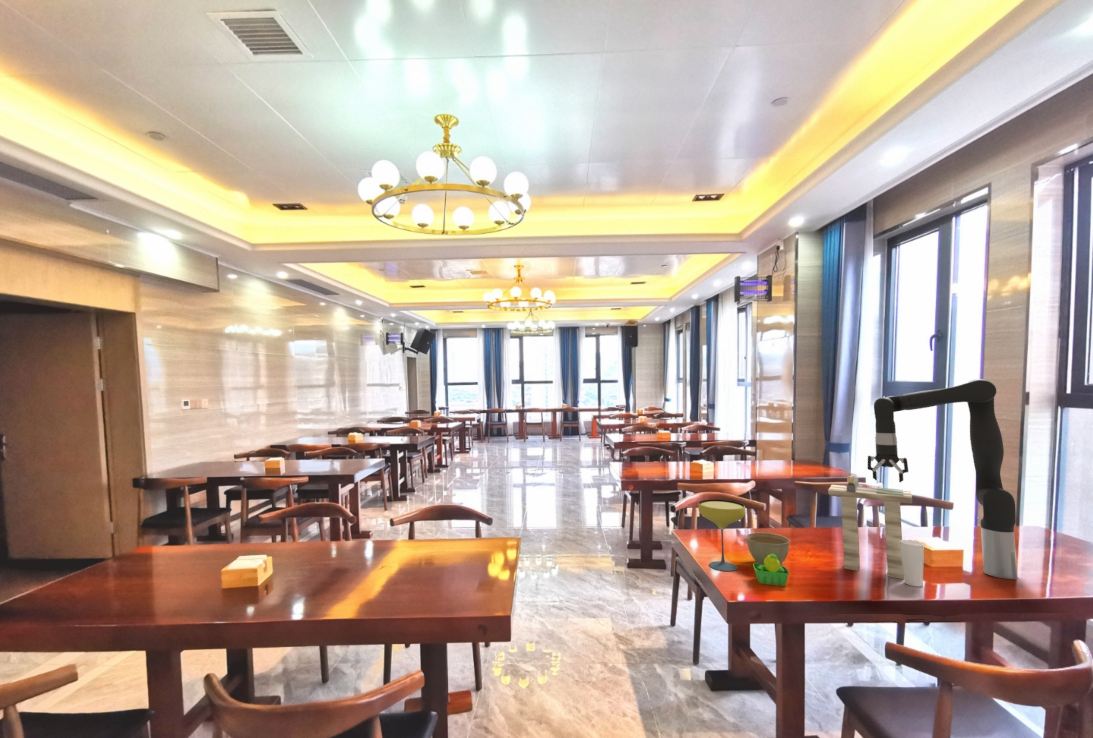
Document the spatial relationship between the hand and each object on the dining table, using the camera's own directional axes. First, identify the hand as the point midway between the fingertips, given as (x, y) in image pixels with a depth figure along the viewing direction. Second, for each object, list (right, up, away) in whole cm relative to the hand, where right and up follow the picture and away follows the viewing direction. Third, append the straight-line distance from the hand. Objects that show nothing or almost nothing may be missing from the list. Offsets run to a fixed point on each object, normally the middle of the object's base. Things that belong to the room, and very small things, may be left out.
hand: (888, 481), depth 200 cm
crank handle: (-24, +1, -13) cm, 27 cm away
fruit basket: (-65, -31, -29) cm, 77 cm away
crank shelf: (-22, -31, -22) cm, 44 cm away
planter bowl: (-57, -32, -11) cm, 66 cm away
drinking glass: (-14, -30, -31) cm, 46 cm away
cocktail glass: (-76, -32, -12) cm, 84 cm away
